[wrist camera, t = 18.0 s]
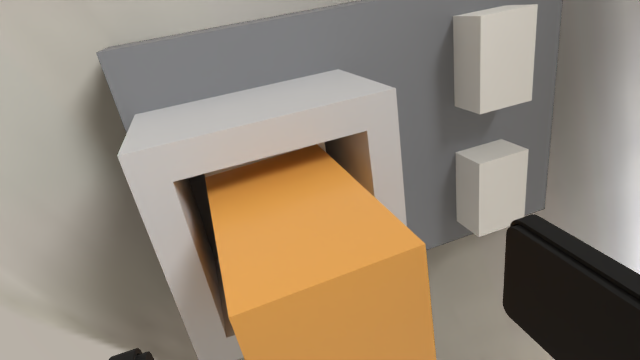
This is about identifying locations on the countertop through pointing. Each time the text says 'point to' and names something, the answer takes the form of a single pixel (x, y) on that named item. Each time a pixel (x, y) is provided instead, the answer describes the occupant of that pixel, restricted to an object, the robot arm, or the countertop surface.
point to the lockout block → (317, 264)
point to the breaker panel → (339, 122)
